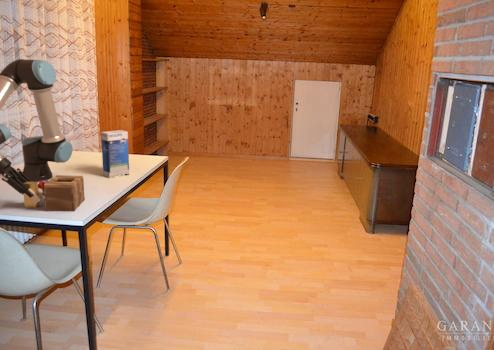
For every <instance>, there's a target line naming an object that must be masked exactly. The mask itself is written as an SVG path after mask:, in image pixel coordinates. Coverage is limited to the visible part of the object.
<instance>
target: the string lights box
mask: <svg viewBox="0 0 494 350" xmlns="http://www.w3.org/2000/svg"><path fill="white" fill-rule="evenodd" d="M100 136H101V157H102V158H101V160H102V171H103V172H102V175H103V176H104V177H106V178H108V179H112V178H111V177H113V178H116V177H115V176H119V175H124V174H129V175H130V161H129V160H130V159H129V157H130V156H129V132H128V131H127V130H123V129H119V130H109V131H108V130H107V131H101V132H100ZM124 176H125V175H124ZM119 177H120V176H119Z"/></svg>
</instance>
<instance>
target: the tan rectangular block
mask: <svg viewBox="0 0 494 350" xmlns="http://www.w3.org/2000/svg"><path fill="white" fill-rule="evenodd" d="M23 184H24V185H25V186H26V187H27V188H28V190H29V189H30V190H32V191H33V192H34V193H35V194H36V195H37V196H39V191H38V184H39V181H32V182H25V183H23ZM23 200H24V208H31V209H32V208H33V209H34V208H35V209H36V208H38V207H39V206H40V201H39V202H38V203H35V202H34V201H33V200H32V199H31V198H30V197H28V196H27V195H26V194H25V193H24V194H23Z"/></svg>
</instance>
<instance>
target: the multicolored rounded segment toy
mask: <svg viewBox="0 0 494 350" xmlns="http://www.w3.org/2000/svg"><path fill="white" fill-rule="evenodd" d="M48 181H49V179H48V180H44V181H38V190H39V191H40V192H41V193H42V194H43V195H44V196H45V194H44V184H45V183H47V182H48Z"/></svg>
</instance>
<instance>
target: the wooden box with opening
mask: <svg viewBox="0 0 494 350" xmlns="http://www.w3.org/2000/svg"><path fill="white" fill-rule="evenodd" d="M44 194H45V195H44ZM43 195H44V202H45V206H44V207H45V212H75V211H76V210H77V209H78V208H79V207H80V206H81V205H82V203H84V201H85V183H84V175H71V174H70V175H68V174H67V175H66V174H65V175H64V174H63V175H61V174H57V175H55V176H54V177H52V178H51V179H48V182H47V183H45V184H44V193H43Z"/></svg>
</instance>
